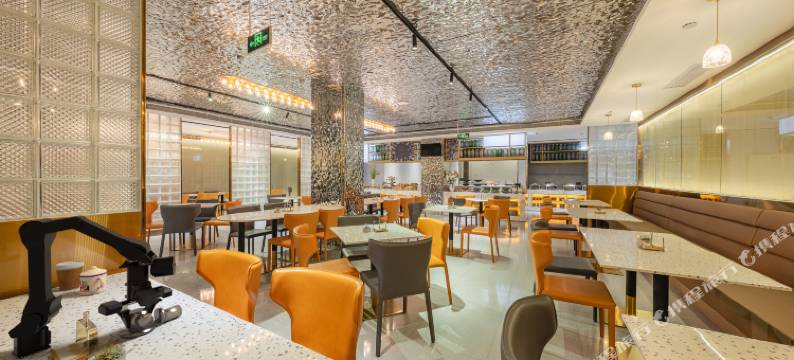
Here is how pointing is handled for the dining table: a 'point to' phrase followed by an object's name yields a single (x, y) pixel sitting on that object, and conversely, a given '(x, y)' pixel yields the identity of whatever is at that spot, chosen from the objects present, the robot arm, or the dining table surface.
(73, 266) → the disposable coffee cup
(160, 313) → the silver metal long piece
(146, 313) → the elbow
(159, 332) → the dining table surface
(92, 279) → the teacup with lid
